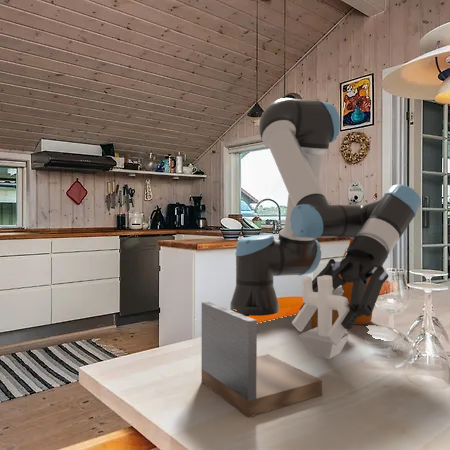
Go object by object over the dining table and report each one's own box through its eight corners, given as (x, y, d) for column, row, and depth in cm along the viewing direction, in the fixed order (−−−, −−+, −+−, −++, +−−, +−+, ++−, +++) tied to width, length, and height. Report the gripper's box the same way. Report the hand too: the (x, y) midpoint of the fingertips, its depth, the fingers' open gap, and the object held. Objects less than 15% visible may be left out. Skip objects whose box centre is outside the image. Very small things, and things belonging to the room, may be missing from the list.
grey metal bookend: (208, 366, 76) (208, 301, 76) (256, 398, 63) (256, 320, 63) (201, 368, 75) (201, 302, 75) (248, 400, 63) (248, 321, 62)
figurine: (338, 364, 75) (339, 281, 74) (293, 352, 81) (294, 275, 81) (355, 353, 80) (356, 276, 80) (312, 343, 87) (313, 271, 86)
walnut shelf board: (268, 366, 83) (268, 354, 83) (321, 395, 70) (321, 380, 70) (201, 382, 76) (201, 368, 75) (248, 417, 63) (248, 400, 63)
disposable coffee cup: (351, 332, 107) (351, 286, 106) (325, 339, 101) (326, 290, 101) (323, 324, 115) (323, 281, 114) (297, 329, 109) (298, 284, 109)
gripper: (427, 264, 79) (368, 363, 71) (341, 252, 97) (287, 330, 90) (410, 236, 76) (346, 337, 68) (325, 230, 94) (267, 309, 87)
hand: (313, 333), depth 79 cm, fingers closed on figurine, 9 cm apart
